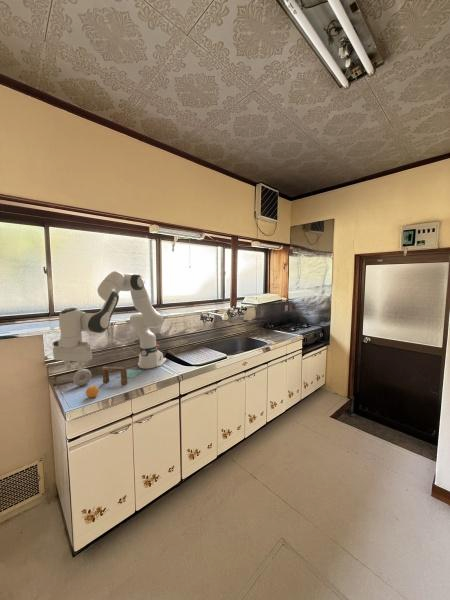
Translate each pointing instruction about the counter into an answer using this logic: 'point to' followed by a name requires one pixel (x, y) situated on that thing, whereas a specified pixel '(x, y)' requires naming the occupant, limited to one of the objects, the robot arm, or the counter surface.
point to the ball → (92, 391)
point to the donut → (79, 373)
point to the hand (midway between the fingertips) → (74, 369)
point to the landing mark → (132, 373)
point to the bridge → (121, 369)
